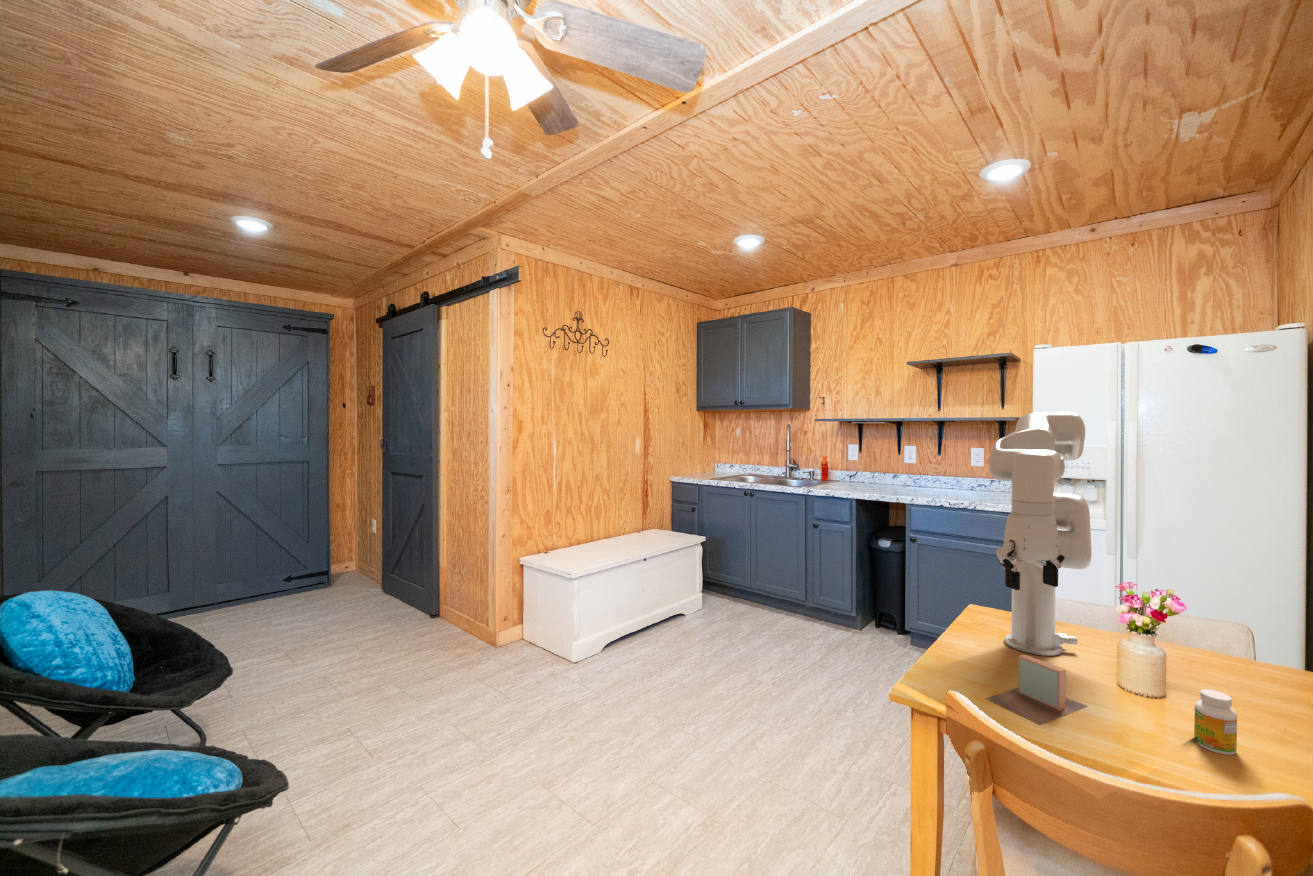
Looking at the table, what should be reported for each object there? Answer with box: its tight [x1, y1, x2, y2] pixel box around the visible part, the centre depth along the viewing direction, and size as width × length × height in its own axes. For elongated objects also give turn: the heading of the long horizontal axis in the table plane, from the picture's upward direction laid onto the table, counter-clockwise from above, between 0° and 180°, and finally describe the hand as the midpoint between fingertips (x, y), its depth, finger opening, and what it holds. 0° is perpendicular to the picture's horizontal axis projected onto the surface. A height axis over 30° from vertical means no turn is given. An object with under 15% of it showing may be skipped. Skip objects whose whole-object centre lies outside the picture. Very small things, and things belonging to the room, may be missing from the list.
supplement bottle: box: [1193, 688, 1238, 756], centre depth 98 cm, size 5×5×10 cm
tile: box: [1018, 654, 1067, 710], centre depth 112 cm, size 2×8×8 cm, turn 25°
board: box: [984, 686, 1088, 726], centre depth 111 cm, size 16×11×1 cm
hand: (1031, 586), depth 117 cm, fingers open, 9 cm apart
